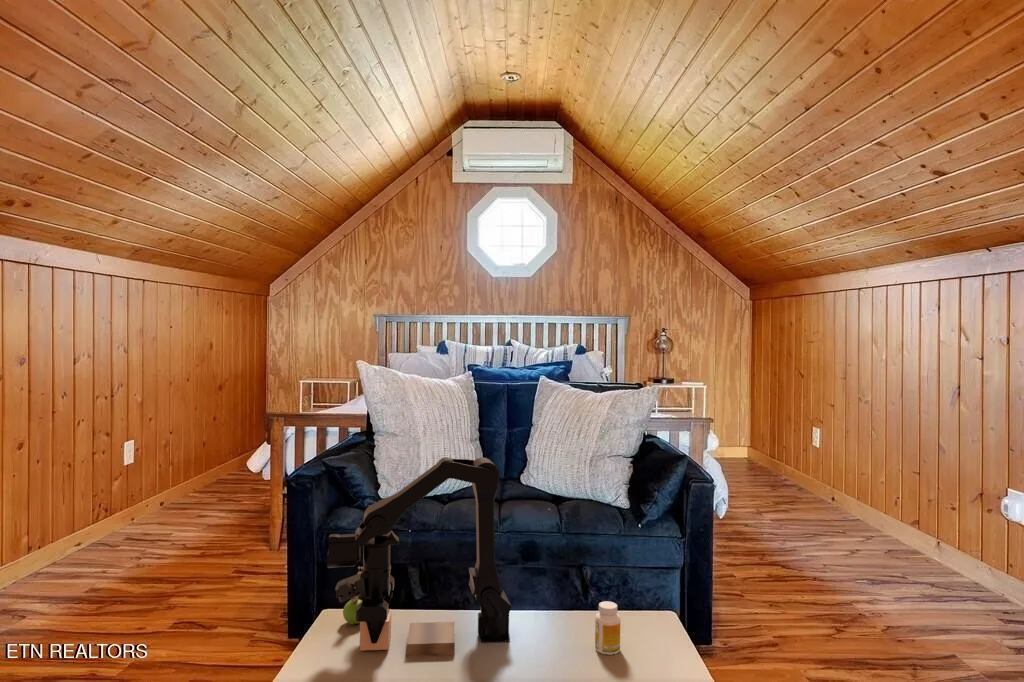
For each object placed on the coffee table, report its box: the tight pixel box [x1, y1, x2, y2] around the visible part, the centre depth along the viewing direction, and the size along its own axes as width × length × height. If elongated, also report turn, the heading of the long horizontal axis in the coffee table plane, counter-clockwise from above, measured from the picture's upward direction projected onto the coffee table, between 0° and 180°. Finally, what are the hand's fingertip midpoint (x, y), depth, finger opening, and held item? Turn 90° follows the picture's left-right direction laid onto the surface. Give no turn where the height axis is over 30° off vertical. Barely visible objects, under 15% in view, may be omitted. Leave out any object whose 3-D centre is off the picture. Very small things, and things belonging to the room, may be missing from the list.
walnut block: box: [406, 621, 456, 657], centre depth 141 cm, size 10×10×3 cm
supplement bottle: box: [594, 600, 621, 656], centre depth 139 cm, size 5×5×10 cm
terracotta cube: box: [359, 608, 392, 651], centre depth 139 cm, size 6×6×6 cm
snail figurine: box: [342, 566, 363, 625], centre depth 151 cm, size 5×6×12 cm
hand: (375, 636), depth 139 cm, fingers closed on terracotta cube, 6 cm apart
